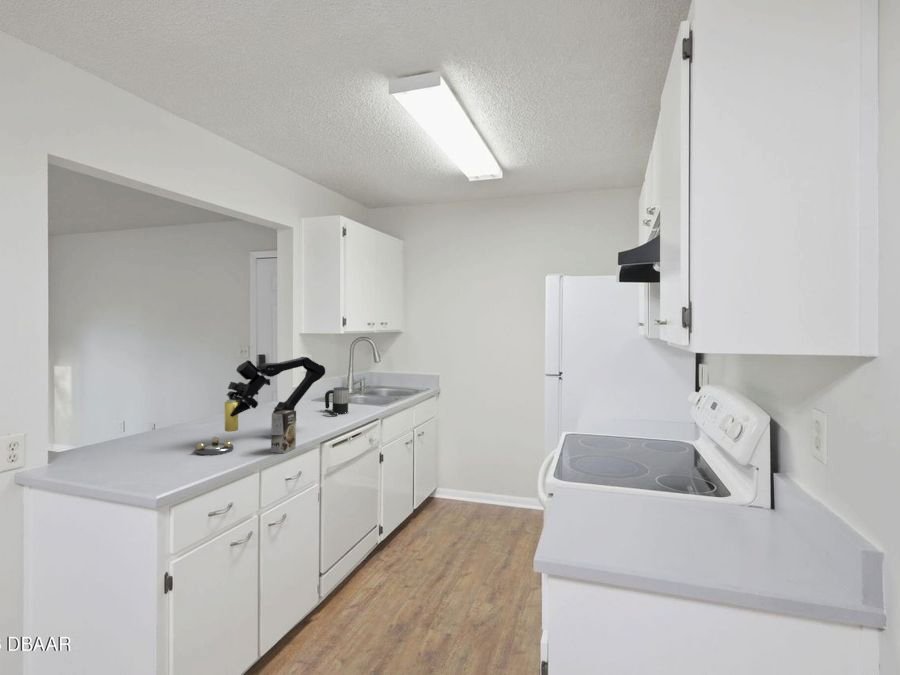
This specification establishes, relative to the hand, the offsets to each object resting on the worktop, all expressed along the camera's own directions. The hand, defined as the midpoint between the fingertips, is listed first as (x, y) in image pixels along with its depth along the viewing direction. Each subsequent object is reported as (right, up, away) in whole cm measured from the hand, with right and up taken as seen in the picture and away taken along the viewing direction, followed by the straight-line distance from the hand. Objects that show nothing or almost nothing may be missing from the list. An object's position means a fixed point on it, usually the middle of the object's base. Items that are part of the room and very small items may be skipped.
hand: (228, 415), depth 201 cm
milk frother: (+28, -12, +76) cm, 82 cm away
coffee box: (+25, -14, -4) cm, 29 cm away
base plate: (-2, -13, -7) cm, 15 cm away
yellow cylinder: (+1, -7, +1) cm, 7 cm away
